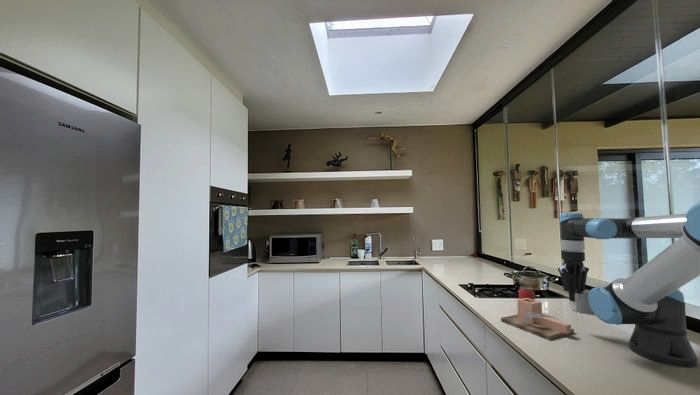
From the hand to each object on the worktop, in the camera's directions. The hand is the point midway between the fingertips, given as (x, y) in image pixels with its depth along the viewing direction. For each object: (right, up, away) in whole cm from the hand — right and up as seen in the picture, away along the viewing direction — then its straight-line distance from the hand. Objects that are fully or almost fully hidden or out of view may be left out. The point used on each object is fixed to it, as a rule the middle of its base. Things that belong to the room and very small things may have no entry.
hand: (574, 309), depth 111 cm
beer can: (-6, -11, +20) cm, 24 cm away
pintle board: (-13, -9, +4) cm, 17 cm away
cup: (+23, -11, +23) cm, 35 cm away
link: (-10, -8, +3) cm, 13 cm away
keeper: (-16, -9, +1) cm, 18 cm away
